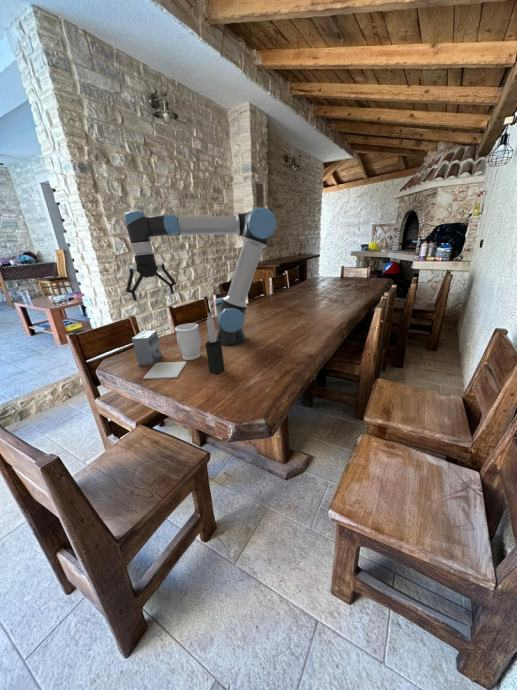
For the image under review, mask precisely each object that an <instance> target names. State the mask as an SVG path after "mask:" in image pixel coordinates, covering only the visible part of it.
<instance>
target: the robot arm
mask: <svg viewBox="0 0 517 690" xmlns="http://www.w3.org/2000/svg"><path fill="white" fill-rule="evenodd" d="M123 217H124V222H125V227H126V230H127V234H128V237H129V241H130V245H131V249H132V252H133V255H134V256H133V257H134V261H135V265H136V268H135V267H134V268H132V267H130V268H129V269H128V270H129V276H128V279H127V285H126V288H125V292H126V293H130V294H131V295H132V300H133V301H134V302H137V306H138V309H141V308H142V307H141V303H140V301H139V300H140V299H139V295H138V292H137V289H138V287H139V286H140V284H141V281H142V280H143V278H153V277H155V276H156V277H157V278H158V279H160V280H161V281H162V282H163V283H165V284H166V285H167V286H166V287H167V292H168V297H169V300H170V303H174V299H173V296H172V295H174V293H175V292H174V287H173V286H175V285H176V284H177V281H175V279H174V278H173V277H172V276H171V274H170V273H169V272H168V270H167V269H166V267H165V264H163V263H160V264H157V262H156V259H155V258H156V257H155V254H154V253H153V251H154V250H153V245H152V241H151V238H153V237H173V236H198V235H199V236H200V235H202V236H203V235H204V236H205V235H206V236H207V235H209V236H211V235H236V236H238V237H241V240H242V242H243V243H242V246H241V250H240V253H239V256H238V260H237V262H236V266H235V270H234V273H233V276H232V279H231V283H230V286H229V288H228V292H227V295H226V296H224V297H218V298H216V299H215V300H214V301H215V303H214V305H215V311H216V318H217V325H218V329H217V332H216V339H218V340H219V341H221V346H234V345H239V344H241V343H243V342H244V341H246V335H245V332H244V329H243V327H244V323H245V319H246V318H245V314H246V312H247V308H248V305H247V298H248V294H249V292H250V289H251V286H252V282H253V279H254V276H255V274H256V270H257V267H258V265H259V261H260V257H261V255H262V252H263V249H265V248H267V247H268V244H269V241H270V239H271V237H272V236H273V234H274V232H276V228H277V220H276V216H275V215H274V213H273V211H271V210H270V209H268V208H267V207H260V206H259V207H256V208H254V209H252V210H250V211H247V212H243V213H241V212H239V213H236V214H235V215H223V216H222V215H221V216H220V215H218V216H217V215H216V216H215V215H214V216H213V215H212V216H177V215H176V214H173V213H172V214H171V213H170V214H168V213H167V214H161V215H153V216H152V215H151V216H146V214H145V212H144V211H140V210H139V211H128V212H125V213H124V216H123ZM158 270H161V271H162V272H163V273H164V274H165V276H166V278H168V280H169V281H170V282H169V281H168V280H167V279H166V278H164V277H163V276H162V275H161V274H159V272H158ZM136 272H137V273H138V274H139V275H138V277H137V279H136V281H135V283H134V284H133V287H132V282H133V279H134V275H135V274H136ZM131 287H132V288H131Z"/></svg>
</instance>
